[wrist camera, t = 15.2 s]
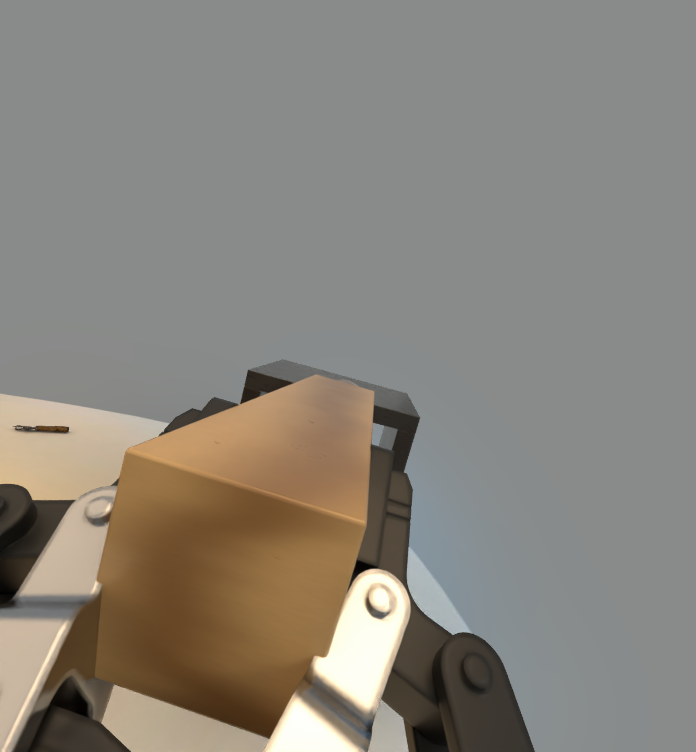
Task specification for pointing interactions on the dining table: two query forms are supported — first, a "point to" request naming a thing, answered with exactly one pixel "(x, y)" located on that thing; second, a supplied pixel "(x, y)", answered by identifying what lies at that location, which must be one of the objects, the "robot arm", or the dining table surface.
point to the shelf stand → (388, 403)
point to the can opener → (46, 428)
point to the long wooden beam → (236, 551)
